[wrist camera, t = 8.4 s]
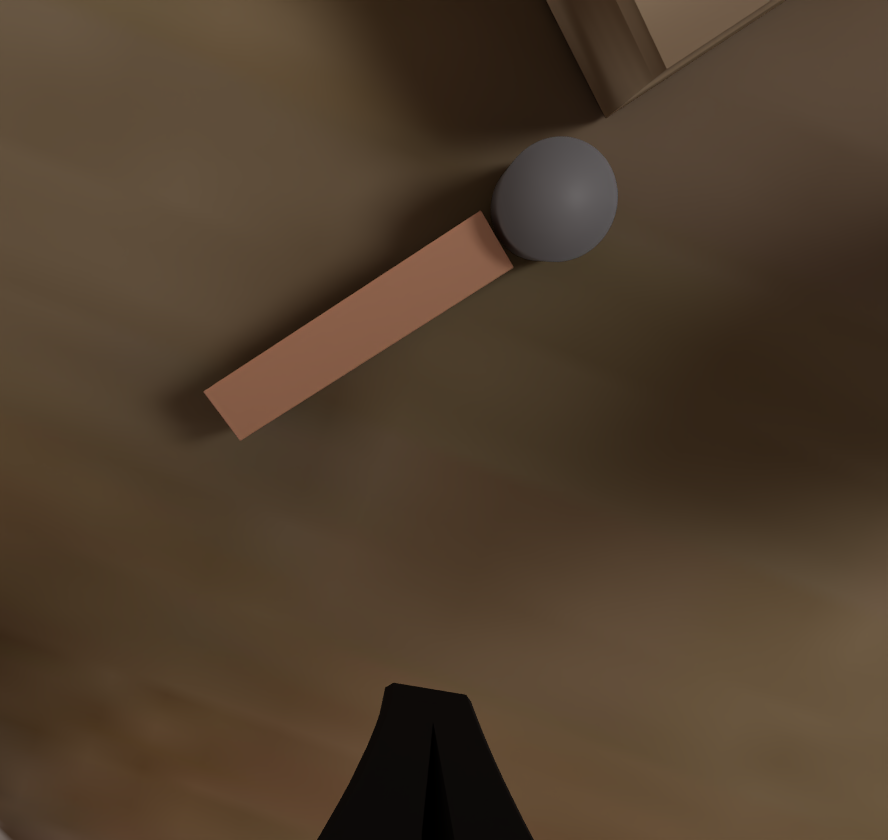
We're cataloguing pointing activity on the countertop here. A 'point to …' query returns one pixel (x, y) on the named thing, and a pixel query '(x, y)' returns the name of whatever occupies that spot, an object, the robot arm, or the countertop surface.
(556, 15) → the block
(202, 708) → the countertop surface
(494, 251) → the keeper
